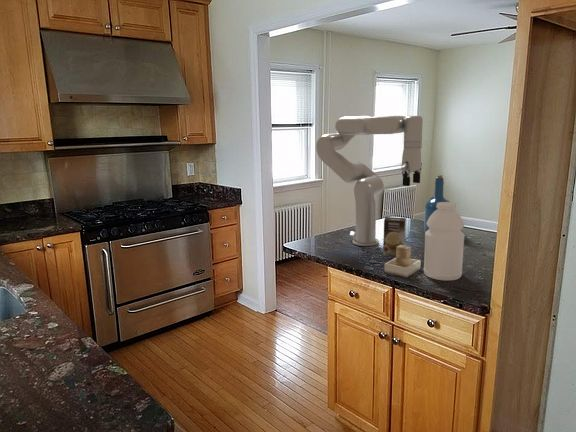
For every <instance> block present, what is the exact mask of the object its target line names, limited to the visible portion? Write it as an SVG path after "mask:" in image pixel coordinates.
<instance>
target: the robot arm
mask: <svg viewBox="0 0 576 432" xmlns="http://www.w3.org/2000/svg"><path fill="white" fill-rule="evenodd" d="M423 121H424V120H423V117H422V116H421V115H408V116H407V115H406V116H404V115H390V116H386V115H385V116H370V115H359V116H358V115H356V116H342V117H340V118H338V119H337V120H336V122H335V130H336V132H334V133H326V134H323V135H321V136H320V137H318V139H317V141H316V146H315V149H316V152H317V153H316V154H317V157H319V159H320V160H321V162H323V164H325V165H326V166H327V167H328V168H330V169H331V171H333V172H334V173H335V174H336V175H337V176H338V177H339V178H340V179H341V180H343V181H344V182H345V183H347V184H354V183H355V184H354V186H353V194H354V200H355V202H354V204H355V231H350V233H349V237H350V238H353V239H352V241H351V242H352V244H353V245H356V246H360V247H374V246H376V245H379V239H378V238H376V234H377V233H376V231H377V230H376V229H377V228H376V227H377V226H376V223H377V221H376V220H377V215H376V214H377V212H376V211H377V205H376V200H375V196H378V195H379V194H381V193H382V192H383V191H384V188H385V187H384V186H385V185H384V182H383V179H382V178H381V177H380V176H379V175H378V174H377V173H376V172H374V171H373V170H372V169H371V168H370V167H369V166H368V165H366V164H364V163H362V162H350V161H349V160H348V159H347V158H345V155H342V154H341V153H339V152H338V151H340V150H342V149H344V148H345V147H346V146H347V145H348V144H349V143H350V141H352V140H353V138H354V137H355V136H363V135H364V136H370V135H393V134H394V135H395V134H402V133H403V151H402V155H401V156H402V157H401V167H400V168H401V174H402V186H404V187H410V186H411V176H410V175H411V173H412V183H414V184H421V174H422V172H421V170H422V165H423V163H422V150H421V149H422V146H423Z"/></svg>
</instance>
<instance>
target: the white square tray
mask: <svg viewBox="0 0 576 432" xmlns="http://www.w3.org/2000/svg"><path fill="white" fill-rule="evenodd" d="M421 264H422V261H421V260H420V259H415V258H411V265H410V266H408V267H401V266H397V265H396V257H394V258H392V259H391V260H389V261H386V262H385V263H384V273H387V274H391V275H395V276H400V277H403V278H408V277H409V276H411V275H413V274H415V273H416V272H418V271H419V270H421V267H422V265H421Z"/></svg>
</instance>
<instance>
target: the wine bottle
mask: <svg viewBox="0 0 576 432" xmlns="http://www.w3.org/2000/svg"><path fill="white" fill-rule="evenodd" d="M444 183H445V182H444V177H443V175H442V174H437V175H436V178H435V180H434V194H433V195H434V196H432V197H430V198H429V199H428V200H427V201H426V202H425V204H424V220H423V221H424V223H423V224H424V225H423V232H424V233H425V232H426V231H427V230H428V229H429V227H428V226H427V224H426V223H427V221H428V219H429V217H430V216H431V214H432V213H433V212H434V211H435V210H437V209H438V208H436V205H437V203H439V202H450V201H449V200H448V199H447V198H445V197H444Z"/></svg>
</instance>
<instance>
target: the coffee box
mask: <svg viewBox="0 0 576 432" xmlns="http://www.w3.org/2000/svg"><path fill="white" fill-rule="evenodd" d="M406 221H407V219H406V217H397V216H396V217H394V216H393V217H392V216H385V217H384V219H383V243H382V245H383V247H382V248H383V249H382V255H383V256H394V257H396V247H397V246H399V245H404V246H406V244H405V242H406V241H405V240H406Z"/></svg>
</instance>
